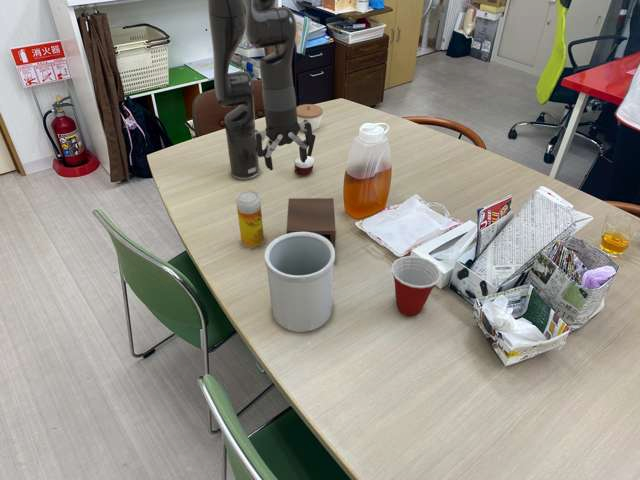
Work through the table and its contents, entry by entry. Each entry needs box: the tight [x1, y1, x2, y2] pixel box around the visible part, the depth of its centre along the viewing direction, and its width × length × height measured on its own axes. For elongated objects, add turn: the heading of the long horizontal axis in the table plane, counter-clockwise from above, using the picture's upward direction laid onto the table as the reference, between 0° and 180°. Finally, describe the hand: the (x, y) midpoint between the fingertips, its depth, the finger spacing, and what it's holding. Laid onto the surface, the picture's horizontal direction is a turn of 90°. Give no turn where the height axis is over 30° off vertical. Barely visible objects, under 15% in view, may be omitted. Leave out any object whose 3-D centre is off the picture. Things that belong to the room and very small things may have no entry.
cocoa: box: [294, 133, 317, 177], centre depth 150 cm, size 10×6×12 cm, turn 119°
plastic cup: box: [391, 255, 442, 317], centre depth 104 cm, size 11×11×12 cm
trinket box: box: [296, 103, 324, 133], centre depth 176 cm, size 11×11×9 cm
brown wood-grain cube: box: [286, 197, 337, 251], centre depth 121 cm, size 14×12×11 cm
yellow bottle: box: [235, 190, 265, 249], centre depth 121 cm, size 6×6×15 cm
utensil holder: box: [263, 232, 336, 333], centre depth 102 cm, size 15×15×18 cm
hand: (286, 164), depth 116 cm, fingers open, 8 cm apart
